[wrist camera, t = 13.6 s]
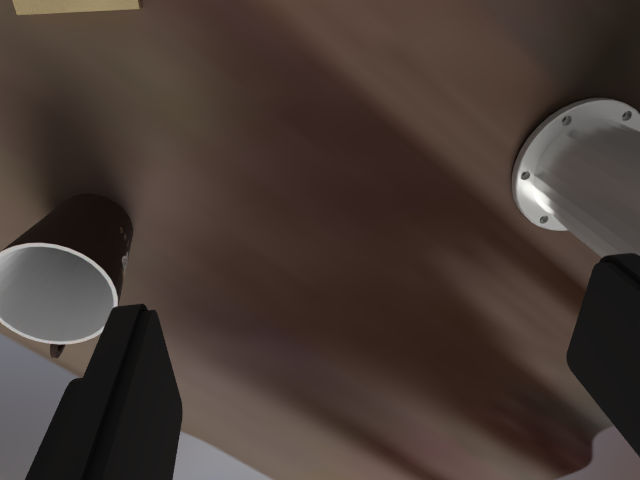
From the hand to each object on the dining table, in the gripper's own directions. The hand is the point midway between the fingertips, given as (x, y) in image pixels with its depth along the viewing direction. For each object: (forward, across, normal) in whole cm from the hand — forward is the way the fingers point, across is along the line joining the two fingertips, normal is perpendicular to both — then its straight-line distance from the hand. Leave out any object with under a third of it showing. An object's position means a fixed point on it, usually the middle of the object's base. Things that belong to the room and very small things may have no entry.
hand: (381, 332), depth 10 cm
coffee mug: (+31, +19, +13) cm, 38 cm away
